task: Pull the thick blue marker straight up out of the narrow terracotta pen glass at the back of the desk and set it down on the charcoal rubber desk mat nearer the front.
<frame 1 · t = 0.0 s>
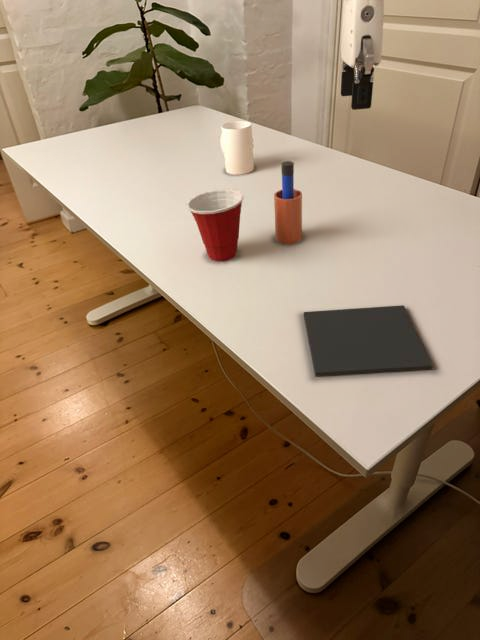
hand: (354, 101, 81), 25 cm above the table, tool pointing down, fingers open, 9 cm apart
mug: (236, 168, 132), on the table
pen glass: (288, 237, 96), on the table
marker: (288, 235, 96), point 1 cm above the table, touching pen glass
desk mat: (362, 340, 69), on the table
plastic cup: (221, 255, 93), on the table
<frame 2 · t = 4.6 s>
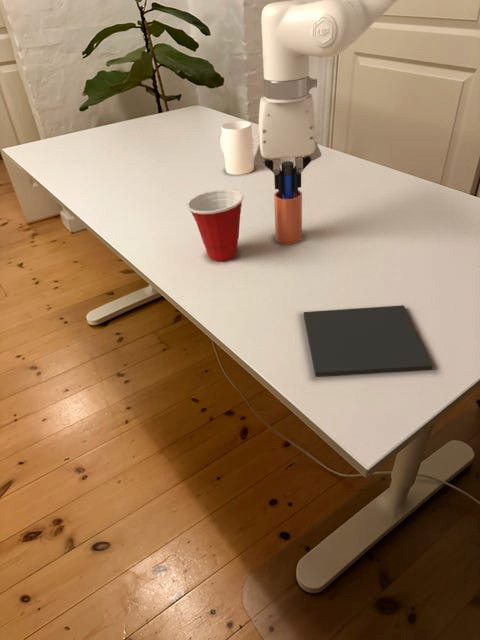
hand: (287, 190, 90), 10 cm above the table, tool pointing down, fingers closed on marker, 2 cm apart
marker: (288, 235, 96), point 1 cm above the table, touching gripper, pen glass
everything else where it was.
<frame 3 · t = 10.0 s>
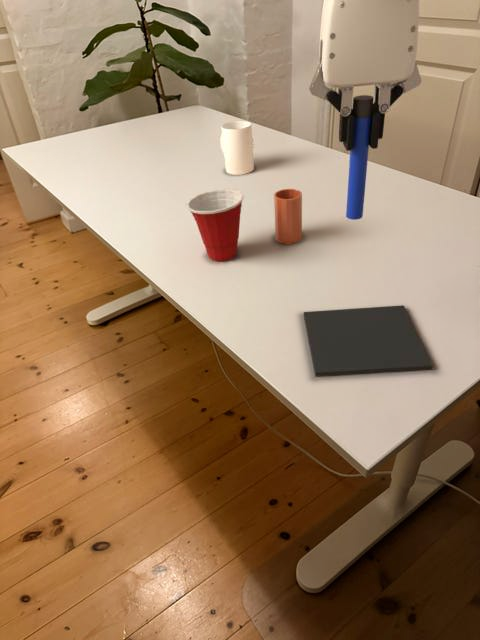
hand: (359, 144, 57), 27 cm above the table, tool pointing down, fingers closed on marker
marker: (354, 216, 63), point 18 cm above the table, touching gripper
everything else where it was.
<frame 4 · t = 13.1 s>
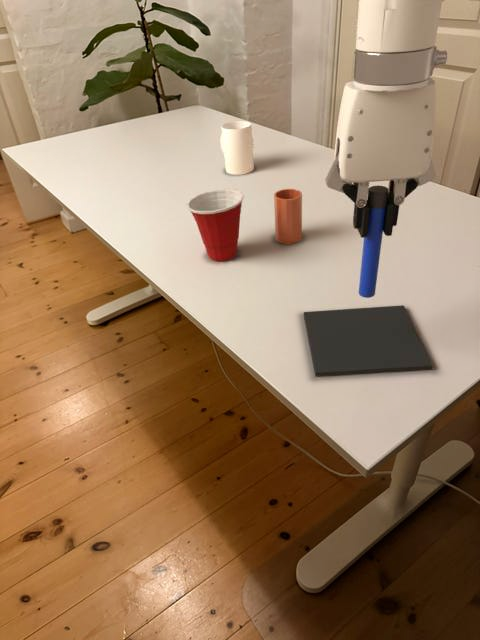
hand: (373, 230, 58), 18 cm above the table, tool pointing down, fingers closed on marker
marker: (366, 293, 64), point 9 cm above the table, touching gripper
everything else where it was.
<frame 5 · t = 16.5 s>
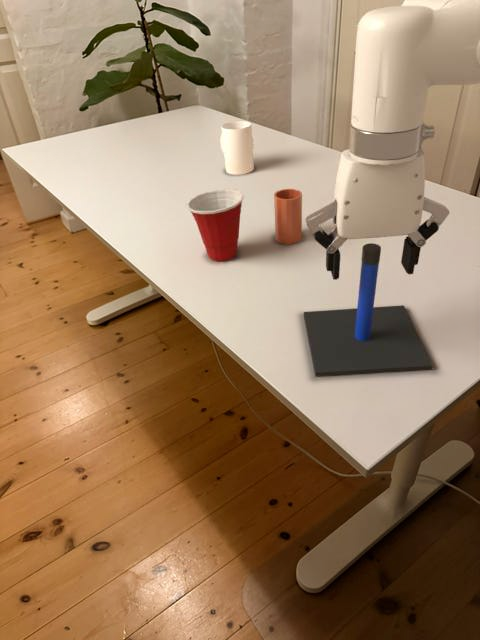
hand: (370, 271, 62), 12 cm above the table, tool pointing down, fingers open, 9 cm apart
marker: (362, 336, 69), point 1 cm above the table, touching desk mat
everything else where it was.
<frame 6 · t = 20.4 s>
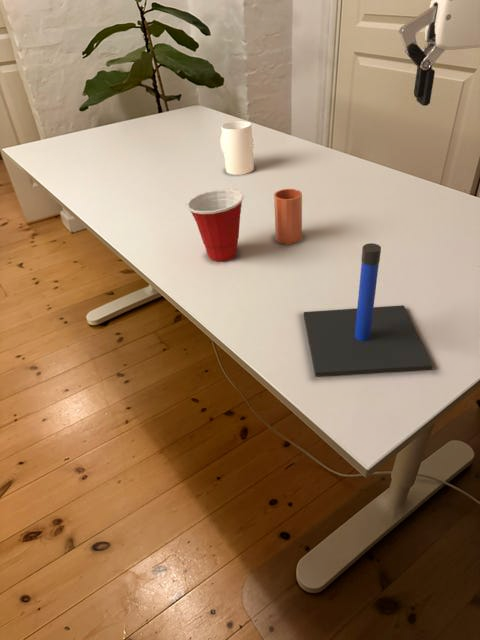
hand: (461, 99, 58), 30 cm above the table, tool pointing down, fingers open, 9 cm apart
nothing on the table moved.
at the end: marker inside the target area on the desk mat (0.1 cm from its centre), point 0.8 cm above the desk mat's base; the gripper is holding nothing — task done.
